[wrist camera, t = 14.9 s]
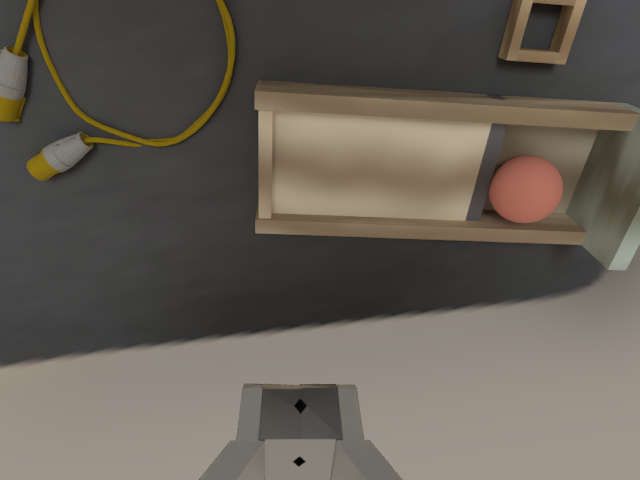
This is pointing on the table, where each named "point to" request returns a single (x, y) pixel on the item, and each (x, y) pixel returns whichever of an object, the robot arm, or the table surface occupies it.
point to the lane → (443, 165)
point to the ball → (525, 189)
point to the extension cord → (8, 100)
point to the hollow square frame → (561, 39)
